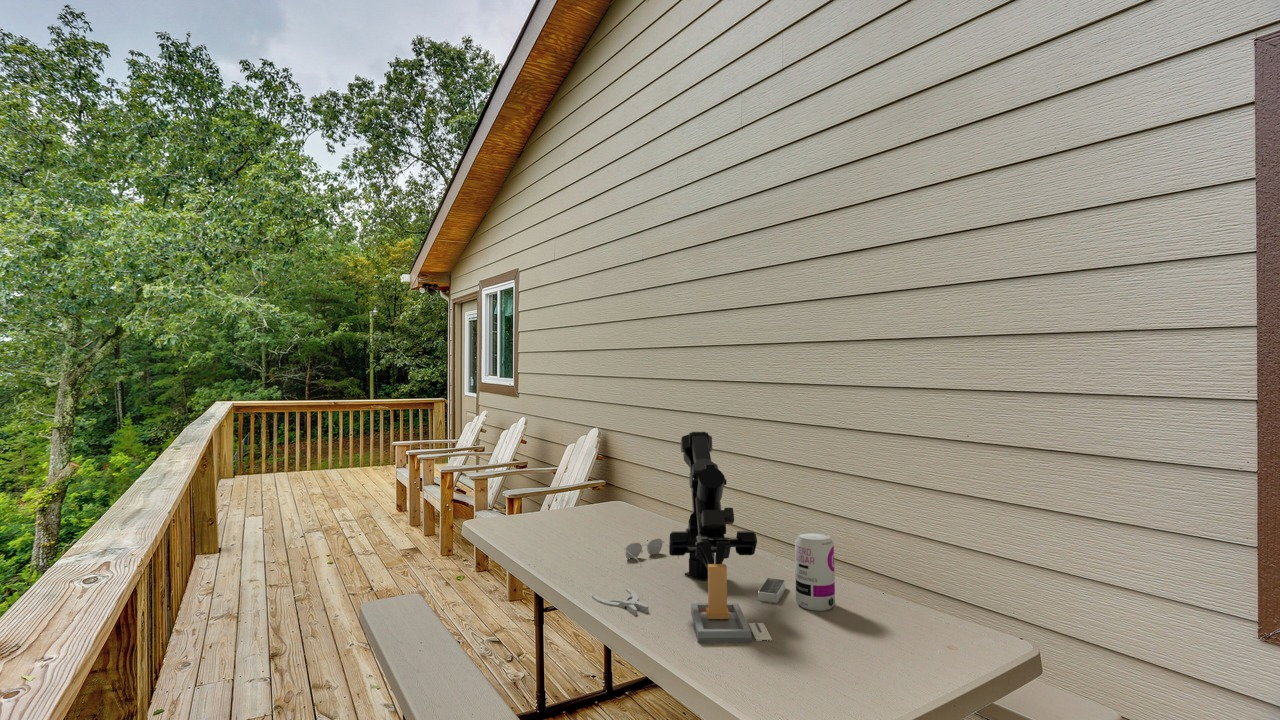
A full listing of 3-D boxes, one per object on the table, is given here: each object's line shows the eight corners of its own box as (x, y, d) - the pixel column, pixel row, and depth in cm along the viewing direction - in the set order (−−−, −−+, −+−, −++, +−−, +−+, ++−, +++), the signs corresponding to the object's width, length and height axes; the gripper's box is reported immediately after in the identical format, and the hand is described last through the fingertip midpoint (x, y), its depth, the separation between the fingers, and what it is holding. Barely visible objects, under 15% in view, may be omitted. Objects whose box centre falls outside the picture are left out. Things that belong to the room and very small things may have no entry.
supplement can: (837, 601, 136) (835, 533, 136) (832, 614, 128) (830, 542, 129) (800, 596, 139) (798, 530, 140) (793, 608, 131) (791, 538, 132)
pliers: (628, 584, 144) (661, 603, 131) (628, 591, 144) (661, 611, 131) (590, 591, 139) (621, 612, 126) (590, 598, 139) (621, 620, 126)
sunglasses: (662, 553, 177) (664, 537, 177) (680, 565, 170) (682, 548, 170) (622, 561, 169) (624, 544, 169) (640, 574, 162) (641, 556, 162)
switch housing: (691, 612, 129) (691, 603, 129) (757, 612, 129) (756, 602, 129) (698, 642, 114) (697, 631, 114) (772, 641, 114) (772, 631, 114)
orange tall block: (706, 613, 126) (705, 563, 126) (727, 613, 126) (726, 563, 126) (707, 619, 123) (707, 567, 123) (729, 619, 123) (729, 567, 123)
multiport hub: (757, 602, 137) (757, 591, 137) (767, 587, 147) (767, 577, 147) (777, 604, 135) (777, 594, 135) (785, 589, 145) (785, 579, 145)
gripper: (669, 494, 133) (672, 559, 121) (754, 493, 133) (766, 559, 121) (667, 523, 140) (670, 587, 129) (748, 522, 140) (759, 586, 129)
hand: (716, 579), depth 127 cm, fingers closed
